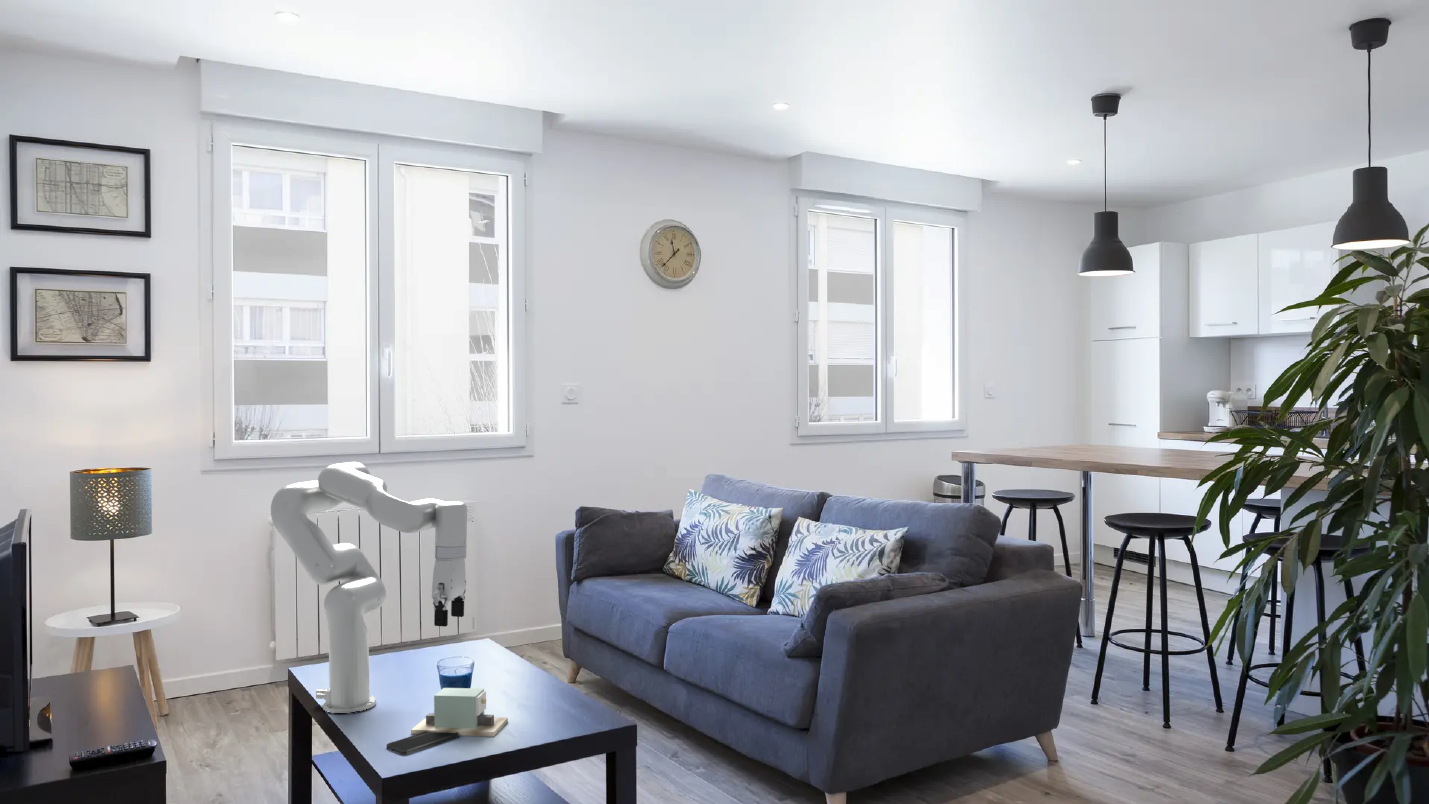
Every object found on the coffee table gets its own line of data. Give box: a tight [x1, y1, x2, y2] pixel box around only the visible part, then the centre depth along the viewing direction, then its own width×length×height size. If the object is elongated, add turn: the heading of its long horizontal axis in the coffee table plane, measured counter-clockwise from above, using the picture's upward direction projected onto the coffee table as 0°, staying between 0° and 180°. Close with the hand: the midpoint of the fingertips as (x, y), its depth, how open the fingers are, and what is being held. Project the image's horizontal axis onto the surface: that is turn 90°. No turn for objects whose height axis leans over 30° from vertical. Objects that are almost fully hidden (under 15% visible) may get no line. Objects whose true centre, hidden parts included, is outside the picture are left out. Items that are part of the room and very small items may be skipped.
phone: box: [386, 731, 460, 756], centre depth 227 cm, size 8×1×15 cm
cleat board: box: [410, 712, 509, 737], centre depth 237 cm, size 20×10×3 cm, turn 83°
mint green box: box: [433, 687, 487, 728], centre depth 237 cm, size 11×6×8 cm, turn 84°
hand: (449, 621), depth 246 cm, fingers open, 9 cm apart
